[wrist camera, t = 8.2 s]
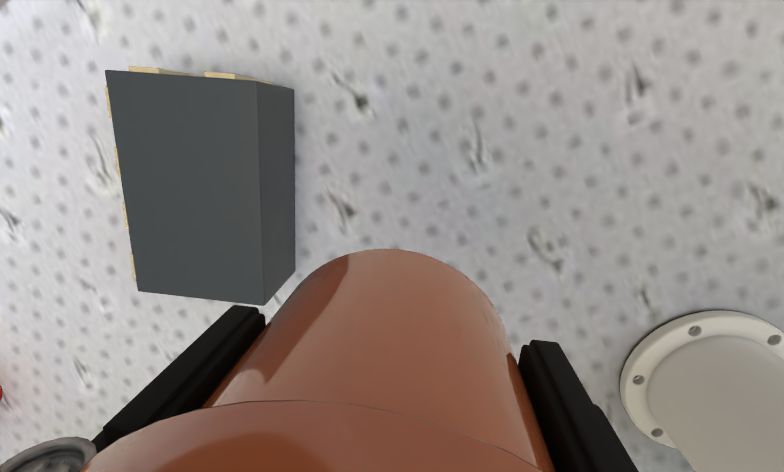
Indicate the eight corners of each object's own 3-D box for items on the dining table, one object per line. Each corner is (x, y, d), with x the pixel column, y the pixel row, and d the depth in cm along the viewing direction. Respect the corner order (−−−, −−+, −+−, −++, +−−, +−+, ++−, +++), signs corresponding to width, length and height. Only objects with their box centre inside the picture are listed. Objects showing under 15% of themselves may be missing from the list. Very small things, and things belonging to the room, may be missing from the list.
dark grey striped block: (294, 84, 26) (256, 74, 20) (295, 271, 30) (264, 306, 25) (168, 75, 27) (98, 63, 21) (187, 259, 31) (133, 290, 25)
